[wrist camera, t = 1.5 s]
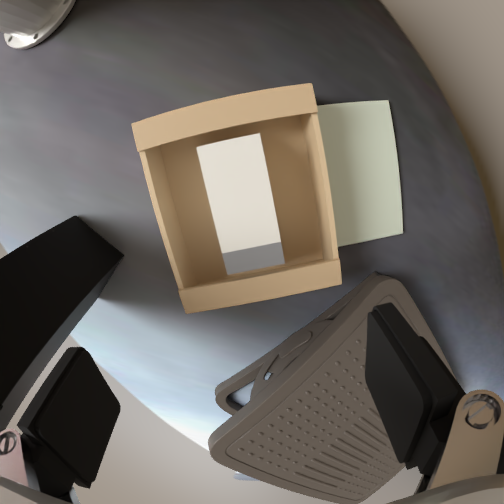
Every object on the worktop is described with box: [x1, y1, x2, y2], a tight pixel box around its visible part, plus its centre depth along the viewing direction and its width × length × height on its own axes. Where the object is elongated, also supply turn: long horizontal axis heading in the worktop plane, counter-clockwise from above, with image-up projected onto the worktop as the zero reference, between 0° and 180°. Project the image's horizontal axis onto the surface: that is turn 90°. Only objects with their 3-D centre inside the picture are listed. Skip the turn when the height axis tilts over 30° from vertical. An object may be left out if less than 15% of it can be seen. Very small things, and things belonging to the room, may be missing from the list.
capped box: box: [196, 133, 285, 275], centre depth 26 cm, size 11×5×6 cm, turn 12°
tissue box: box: [0, 216, 124, 432], centre depth 19 cm, size 8×8×28 cm
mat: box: [317, 100, 403, 247], centre depth 29 cm, size 15×9×1 cm, turn 12°
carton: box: [132, 83, 342, 314], centre depth 27 cm, size 18×15×6 cm
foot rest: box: [208, 271, 456, 504], centre depth 36 cm, size 39×30×13 cm
